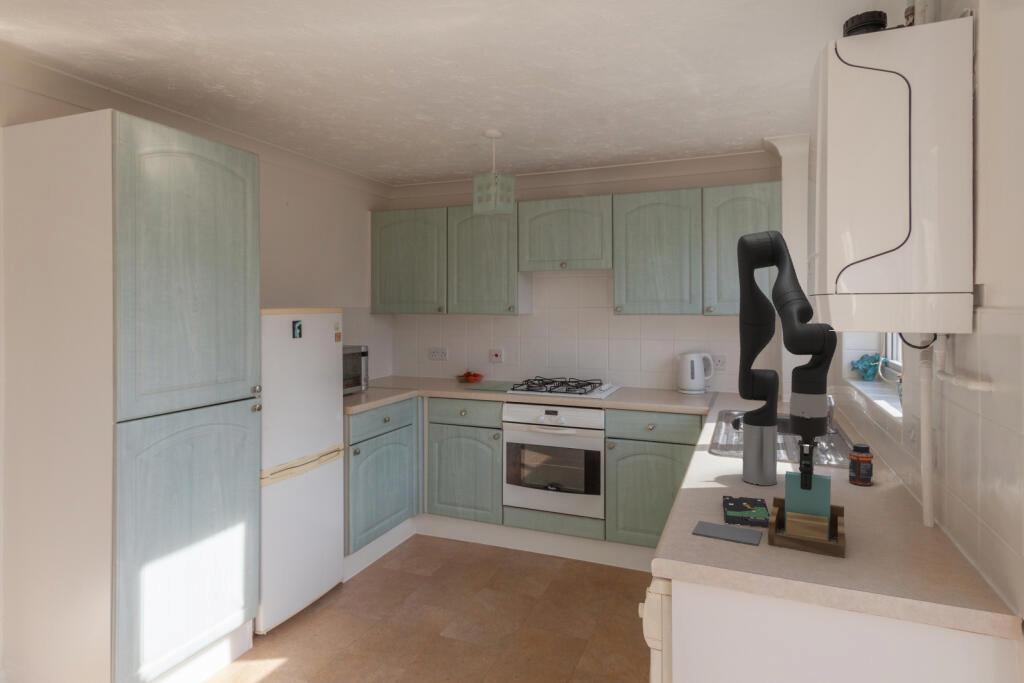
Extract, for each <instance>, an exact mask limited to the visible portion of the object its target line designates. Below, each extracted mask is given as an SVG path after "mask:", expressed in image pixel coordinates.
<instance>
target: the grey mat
mask: <svg viewBox="0 0 1024 683" xmlns="http://www.w3.org/2000/svg"><path fill="white" fill-rule="evenodd" d="M762 534H763V530H757V529H749V528H744V527H739V526H731V525H728V524H727V525H726V524H721V523H714V522H709V521H703V520H698V522H697V523H696V525H695V527H694V529H693V530H692V532H691V535H696V536H699V537H700V536H701V537H706V538H712V539H717V540H723V541H729V542H734V543H739V544H746V545H750V546H751V545H752V546H755V547H756V546H757V547H758V546H759V544H760V541H761V538H762Z"/></svg>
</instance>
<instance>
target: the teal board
mask: <svg viewBox="0 0 1024 683" xmlns="http://www.w3.org/2000/svg"><path fill="white" fill-rule="evenodd" d="M784 475H785V481H784V482H785V483H784V484H785V485H784V498H785V529H784V533H783V534H786V514H787V512H794V513H801V514H809V515H816V516H824V517H827V520H828V542H831V541H830V538H831V537H830V504H831V495H832V494H831V493H832V492H831V491H832V490H831V487H832V484H831V483H832V476H831V475H824V474H814V473H813V474H812V489H811V490H803V489H801V488H800V480H801V472H800V471H799V472H797V471H789V470H786V471H785V474H784Z"/></svg>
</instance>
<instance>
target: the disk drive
mask: <svg viewBox="0 0 1024 683" xmlns="http://www.w3.org/2000/svg"><path fill="white" fill-rule="evenodd" d="M766 503H767V502H766V500H765V498H757V497H747V496H746V497H744V496H740V497H737V498H736V497H733V496H731V495H722V508H723V514H724V515H723V517H724V523H725V524H726V523H728V524H727V525H735V524H740V525H739V526H745V525H750V526H749V527H755V526H761V527H760V528H766V527H768V522H769V518H770V515H771V513H770V512H769V509H768V506H767V504H766Z"/></svg>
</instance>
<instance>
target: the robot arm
mask: <svg viewBox="0 0 1024 683" xmlns="http://www.w3.org/2000/svg"><path fill="white" fill-rule="evenodd" d="M736 249H737V250H736V255H737V256H736V257H737V269H738V280H739V281H738V282H739V283H738V284H739V310H738V311H739V313H738V314H739V318H738V320H739V321H738V322H739V324H738V327H739V347H740V348H739V367H738V368H739V369H738V380H737V381H738V384H737V385H738V394H739V397H740V398H741V399H742V400H745V401H756V402H757V401H760V402H765V404H763V405H762V406H760V407H758V408H756V409H752V410H748V411H746V412H744V413H743V418H742V424H743V427H742V430H743V432H742V481H744V482H745V481H746V482H745V483H747V482H749V483H748V484H751V483H753V484H752V485H756V484H759V485H758V486H772V485H773V486H774V485H775V483H776V484H777V474H778V473H777V468H778V466H777V465H778V464H777V462H778V459H777V458H778V403H779V401H778V400H779V390H780V377H779V373H778V371H777V370H775V369H768V368H765V369H764V368H763V369H762V368H760V369H759V368H752V367H753V364H754V362H755V361H756V359H757V357H758V356H759V354H760V353H761V352H762V351H763V350H764V349H765V348H766V347H767V346H768V345H769V343H770V342H771V341H772V339H773V337H774V336H775V334H776V321H777V320H776V318H777V317H776V314H777V315H778V316H779V319H780V322H781V330H782V342H783V343H782V344H783V347H784V348H785V349H786V351H788V352H789V353H790V354H792V355H793V356H794V355H795V356H811V357H810V359H809V360H808V362H807V363H805V364H802V365H798V366H795V367H793V369H792V371H791V382H790V383H791V385H790V387H791V389H790V391H791V393H790V399H789V426H788V427H789V430H788V431H789V433H791V434H793V435H796V436H800V437H801V439H798V441H797V447H796V448H797V450H798V454H797V462H798V463H799V467H798V470H799V473H801V480H800V488H801V489H803V490H811V489H812V474H814V471H815V470H814V465H815V464H816V463H817V462H816V460H817V455H818V453H817V452H818V449H819V448H818V447H819V442H818V441H816V437H817V438H819V437H825V436H827V434H828V417H829V416H828V415H829V414H828V408H829V407H828V406H829V405H828V403H829V402H828V397H827V396H828V395H827V392H828V391H827V388H828V387H827V386H828V374H829V370H830V367H831V364H832V361H833V357H834V354H835V352H836V348H837V345H838V335H837V333H836V331H829V330H835V329H834V327H833V326H832V325H830V324H828V323H822V322H821V323H817V322H816V323H815V322H813V323H811V322H810V321H811V320H812V319H813V317H814V309H813V307H812V305H811V302H810V301H809V299H808V297H807V295H806V294H805V292H804V291H803V289H802V286H801V284H800V282H799V279H798V276H797V273H796V269H795V266H794V262H793V260H792V256H791V254H790V251H789V246H788V245H787V242H786V240H785V238H784V236H783V235H782V233H781V232H779V231H778V230H764V231H760V232H759V231H758V232H754V233H747V234H744V235H741V236H739V238H738V241H737V246H736ZM774 266H775V267H776V268H777V270H778V271H777V275H776V279H775V281H774V282H773V286H772V290H771V300H770V299H769V298H768V297H767V296H766V294H765V293H764V292H763V291H762V289H761V288H760V287H759V285H758V283H757V282H756V279H755V270H759V269H765V268H770V267H774ZM771 301H772V302H771ZM776 312H777V313H776ZM809 322H810V323H809ZM831 326H832V327H831Z"/></svg>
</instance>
